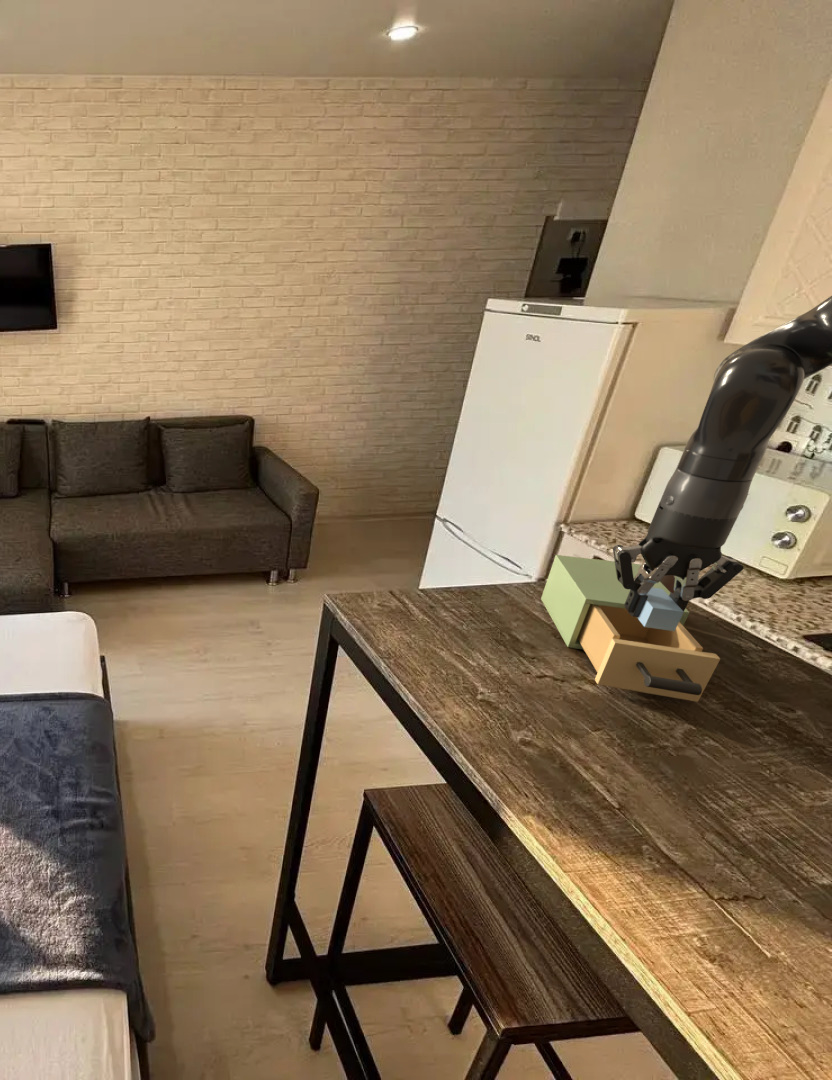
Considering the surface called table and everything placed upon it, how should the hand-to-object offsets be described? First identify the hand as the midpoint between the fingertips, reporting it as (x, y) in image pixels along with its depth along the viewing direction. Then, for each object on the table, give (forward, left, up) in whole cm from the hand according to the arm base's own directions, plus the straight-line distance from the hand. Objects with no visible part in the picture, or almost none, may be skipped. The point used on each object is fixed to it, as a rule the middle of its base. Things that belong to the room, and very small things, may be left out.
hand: (649, 615), depth 83 cm
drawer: (0, +2, -9) cm, 9 cm away
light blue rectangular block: (0, 0, 0) cm, 0 cm away
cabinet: (0, -12, -10) cm, 15 cm away
